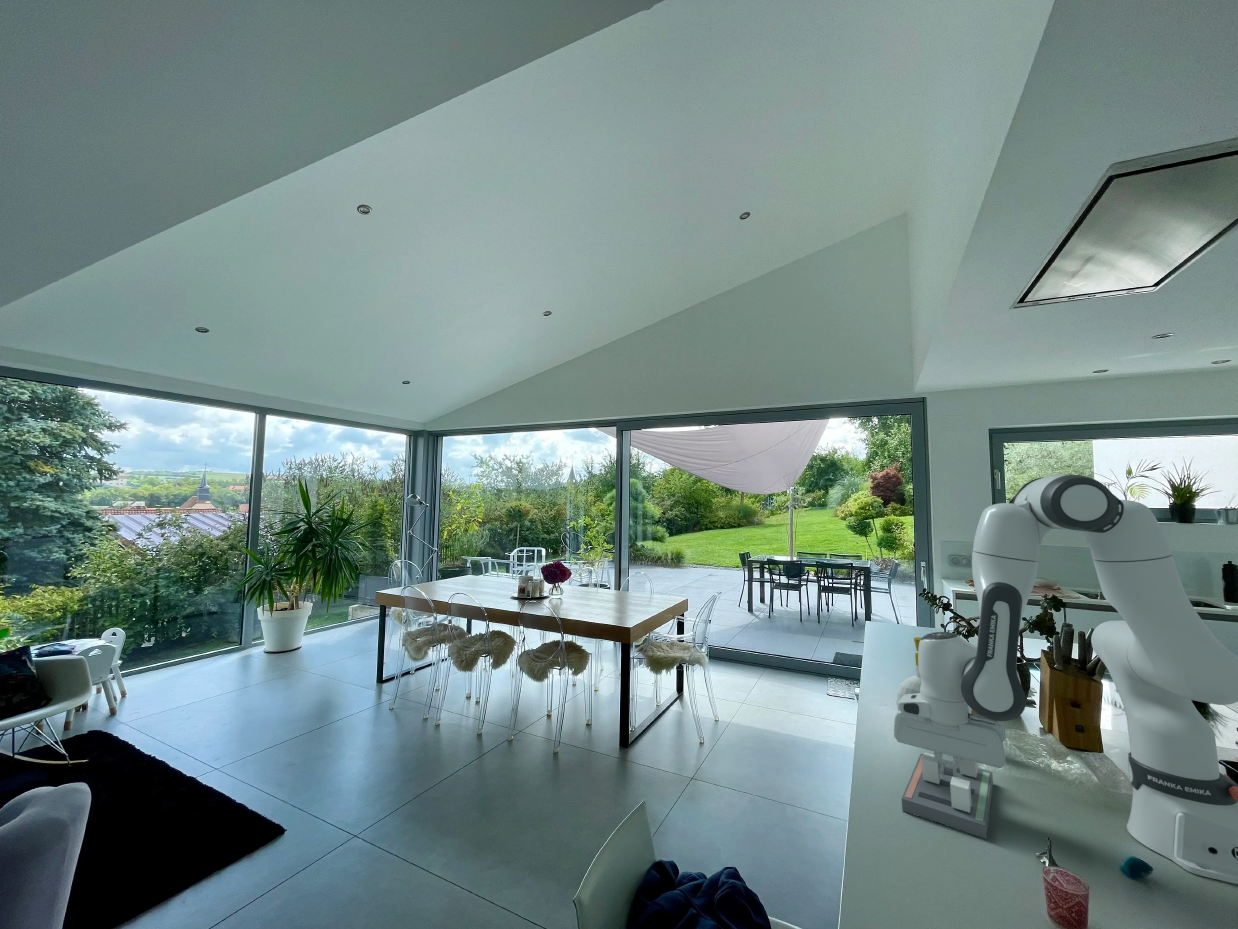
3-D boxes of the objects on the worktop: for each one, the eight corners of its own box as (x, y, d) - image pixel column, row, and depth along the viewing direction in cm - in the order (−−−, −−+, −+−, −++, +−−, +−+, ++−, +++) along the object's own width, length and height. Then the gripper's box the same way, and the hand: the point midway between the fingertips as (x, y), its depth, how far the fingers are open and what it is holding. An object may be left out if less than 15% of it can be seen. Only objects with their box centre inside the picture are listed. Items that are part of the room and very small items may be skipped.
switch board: (993, 783, 111) (992, 771, 111) (986, 839, 93) (985, 824, 93) (921, 764, 120) (920, 753, 120) (902, 811, 102) (901, 797, 102)
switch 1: (977, 771, 111) (976, 750, 112) (976, 778, 108) (974, 757, 109) (961, 767, 113) (960, 747, 114) (960, 773, 110) (958, 753, 111)
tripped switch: (941, 777, 109) (939, 756, 109) (939, 784, 106) (937, 763, 107) (925, 772, 111) (924, 752, 111) (922, 779, 108) (921, 758, 109)
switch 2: (971, 804, 99) (969, 781, 99) (970, 813, 96) (968, 789, 97) (953, 799, 101) (952, 776, 101) (951, 807, 98) (950, 784, 99)
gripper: (1004, 715, 104) (1010, 784, 102) (895, 693, 117) (899, 754, 115) (1003, 726, 99) (1009, 798, 98) (890, 701, 112) (894, 765, 111)
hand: (949, 774), depth 107 cm, fingers closed
